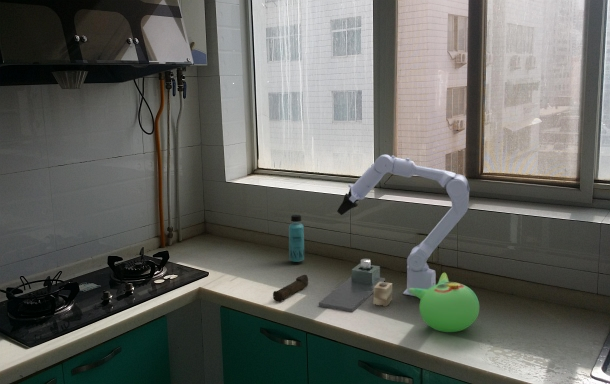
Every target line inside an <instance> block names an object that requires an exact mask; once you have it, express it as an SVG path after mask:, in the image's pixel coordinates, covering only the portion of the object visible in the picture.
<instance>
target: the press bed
mask: <svg viewBox="0 0 610 384" xmlns="http://www.w3.org/2000/svg"><path fill="white" fill-rule="evenodd" d="M350 274H351V275H350V277H349V278H348V279H346V280H345V281H344V282H343V283H342V284H340V285H339V286H338V287H336V288H335V289H334V290H332V292H330V293H329V294H328V295H326V297H324V298H323V299H321V300H320V301H319V302H318V307H321V308H328V309H333V310H338V311H345V312H349V313H353V312H354V311H356V310H357V309H358V307H360V306H361V305H362V304H363V303H364V302H365V301H366V300H367V299H368V298H369V297H370V296H371V295H372V294H374V286H376V285H377V284H378V283H379V282H384V281H385V282H386V278H385V277H381V266H379V265H374V264H372V265H371V270H370V271H367V270H361V263H358V264H357V265H356V266H354V267H353V268H352V269H351V273H350Z"/></svg>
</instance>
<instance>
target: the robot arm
mask: <svg viewBox="0 0 610 384" xmlns="http://www.w3.org/2000/svg"><path fill="white" fill-rule="evenodd" d="M387 173H389V174H392V175H395V176H400V177H405V178H409V179H410V178H411V177H413V176H416V177H421V178H425V179H429V180H433V181H436V182H437V183H438V184H439V185H440V186H441V188H445V187H446V188H445V189H446V193H447V194H448V196H449V198H450V200H451V201H450V202H451V207H450V209H449V210H448V211H447V212H446V213H445V215H444V216H442V218H441V219H440V221H439V222H438V223H437V224H436V226H434V228H432V230H431V231H430V233H428V235H427V236H426V237H425V238H424V239H423V240H422V241H421V242H420V243H419V244H418V245H416V246H413V248H412V249H411V251H410V254H408V257H407V259H406V264H407V266H406V269H407V270H406V271H407V272H406V275H407V277H406V289H405V290H404V291H403V292H402V293H403V295H406V296H407V295H408V296H412V297H416V296H415V295H413V294H412V293H410V292H409V291H408V289H409V288H421V289H429V288H430V287H432V286H434V285H436V284H437V283H436V279H437V278H436V277H437V275H436V270H435V269H431V268H430V267H429V266H430V265H428V263H427V260H428V259H429V257H430V256H432V253H433V252H434V251H435V249H437V247H438V246H439V245H440V243H442V241H443V240H444V239H445V238H446V236H448V234H449V233H450V232H451V231H452V230H453V228H454V227H456V225H457V224H458V222H459V221H460V220H461V219H462V218H463V217H464V216H465V214H466V213H467V211H468V210H469V209H468V208H469V199H470V189H471V188H470V185H469V181H468V179H467V178H466V176H464V175H462V174H461V173H460V174H459V173H457V174H456V173H455V172H453V171H449V170H445V169H444V170H443V169H438V168H433V167H426V166H421V165H417V164H416V163H415V161H413V160H411V158H409V157H406V158H404V159H403V158H400V157H396V155H389V154H387V153H386V154H381V155H380V156H378V157H377V158H376V159H375V160H374V163H373V164H371V166H370V167H368V168H367V169H366V170H365V172H364V173H363V174H362V175H361V176H360V177H359V178H358V179H357V180H356V182H355V183H354V184H352V183H349V185H348V187H349V190H348V193H345V194H344V197H343V200H342V202H341V204H340V205H339V206H338V209H337V213H338V214H339V215H340V216H342V215H344V214H346V213H347V212H348V211H349V210H351V209H354V208H356V207H358V206H359V203H357V202H358V201H360V200H364V199H366V196H368V194H369V193H370V192H371V191H372V190H373V189H374V187H376V186H377V184H378V183H379V182H380V181H381V180H382V178H383V176H384V175H386V174H387Z"/></svg>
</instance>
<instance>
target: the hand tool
mask: <svg viewBox="0 0 610 384" xmlns="http://www.w3.org/2000/svg"><path fill="white" fill-rule="evenodd" d="M308 277H309V276H308V275H307V274H302V275H300V276H297V277H296V279H295V281H293V282H291V283H289V284H288V285H285V286H283V287H282V288H280V289H279V290H275V291H273V293H272V298H273V301H275V302H277V303H282V302H283V301H285V299H286V298H288V297H290V296H292V295H293V294H295V293H296V292H299V291H303V290H305V289H306V288H307V286H308V285H309V278H308Z"/></svg>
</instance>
